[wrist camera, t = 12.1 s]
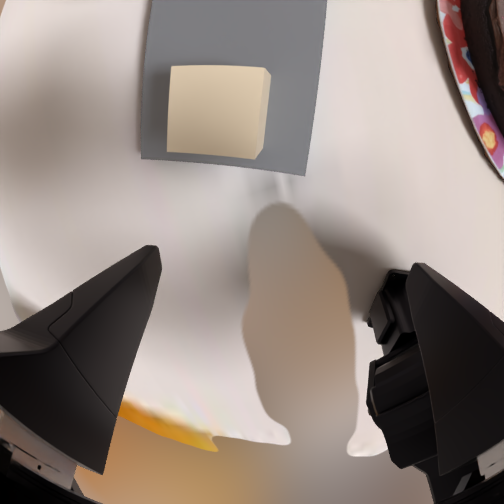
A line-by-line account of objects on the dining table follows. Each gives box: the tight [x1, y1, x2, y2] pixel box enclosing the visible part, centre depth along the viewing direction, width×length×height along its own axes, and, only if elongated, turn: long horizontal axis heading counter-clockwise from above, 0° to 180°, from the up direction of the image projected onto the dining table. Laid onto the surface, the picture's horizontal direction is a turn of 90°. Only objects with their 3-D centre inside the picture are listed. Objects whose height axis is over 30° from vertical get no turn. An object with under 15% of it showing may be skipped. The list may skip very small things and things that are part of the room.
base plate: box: [141, 0, 327, 176], centre depth 12 cm, size 12×23×6 cm, turn 175°
